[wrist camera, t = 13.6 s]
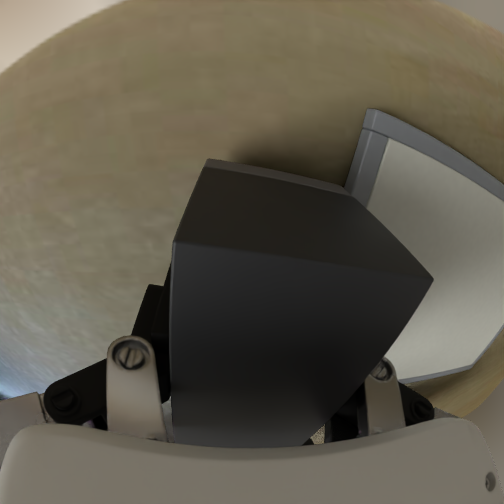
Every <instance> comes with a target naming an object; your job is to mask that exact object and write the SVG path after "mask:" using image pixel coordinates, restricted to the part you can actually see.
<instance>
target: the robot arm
mask: <svg viewBox="0 0 504 504" xmlns="http://www.w3.org/2000/svg"><path fill="white" fill-rule="evenodd" d="M170 280H171V264H170V267H169V270H168V273H167V276H166V280H165V283H164V286H159V285H152V284H149V285H148V287H147V290H146V293H145V295H144V298H143V301H142V304H141V307H140V310H139V313H138V315H137V318H136V321H135V324H134V328H133V331H132V334H131V335H130V336H123V337H120V338H118V339H116V340H115V341H113V342H112V343H111V345H110V346H109V348H108V352H107V358H106V359H104V360H102V361H100V362H97V363H95V364H93V365H91V366H89V367H87V368H84V369H82V370H80V371H78V372H76V373H74V374H71V375H69V376H67V377H65V378H62V379H60V380H58V381H56V382H54V383H52V384H51V385H50V386H49V387H48V388H47V389H46V391H45V393H42V394H38V393H37V392H34V393H30V394H26V395H22V396H18V397H14V398H10V399H5V400H1V401H0V504H504V496H503V491H502V487H501V484H500V480H499V476H498V473H497V470H496V467H495V464H494V461H493V458H492V455H491V453H490V450H489V448H488V445H487V443H486V441H485V439H484V437H483V435H482V433H481V432H480V430H479V429H478V427H477V426H476V425H475V424H474V423H472V422H470V421H468V420H465V419H462V418H459V417H457V416H455V415H452V414H450V413H447V412H445V411H443V410H440V409H438V408H436V407H435V408H433V406H432V404H431V403H430V402H429V401H428V400H427V399H426V398H425V397H423V396H421V395H420V394H418V393H416V392H415V391H413V390H412V389H410V388H408V387H407V386H405V385H403V384H402V383H400V382H399V381H398V380H397V375H396V370H395V368H394V366H393V364H392V363H391V361H389V360H388V359H387V358H386V357H383V358H382V360H381V361H380V362H379V363H378V365H377V366H376V367H375V368H374V370H373V371H372V372H371V373H370V375H369V376H368V377H367V378H366V379H365V381H364V382H363V383H362V384H361V385H360V387H359V388H358V389H357V390H356V391H355V392H354V393H353V394H352V396H351V397H350V398H349V399H348V400H347V401H346V402H345V403H344V404H343V405H342V406H341V408H340V409H339V410H338V411H337V412H336V413H335V414H334V415H333V416H332V417H331V418H330V419H329V420H328V421H327V422H326V423H325V437H324V444H316V445H306V446H294V447H278V448H222V447H206V446H195V445H185V444H177V443H169V442H168V437H167V432H166V427H165V421H164V416H163V410H162V404H163V403H164V402H166V401H168V400H169V398H170V396H171V389H170V358H169V312H170Z"/></svg>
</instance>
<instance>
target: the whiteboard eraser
mask: <svg viewBox="0 0 504 504" xmlns="http://www.w3.org/2000/svg"><path fill="white" fill-rule="evenodd" d="M433 281H434V278H433V277H432V276H431V275H430V273H429V272H428V271H427V270H426V269H425V268H424V267H423V266H422V264H421V263H420V262H419V261H418V260H417V259H416V258H415V257H414V256H413V255H412V254H411V252H410V251H409V250H408V249H407V248H406V247H405V246H404V245H403V244H402V243H401V242H400V241H399V240H398V239H397V238H396V237H395V236H394V235H393V234H392V233H391V232H390V231H389V230H388V229H387V228H386V227H385V226H384V225H383V224H382V223H381V222H380V221H379V220H378V219H377V218H376V217H375V216H374V215H373V214H372V213H371V212H370V211H368V210H367V209H366V208H365V207H364V206H363V205H362V204H361V203H360V202H359V201H358V200H357V199H355V198H354V197H353V196H352V195H351V194H349V193H348V192H347V191H346V190H345V189H344V188H343V187H342V186H340V185H337V184H333V183H329V182H325V181H321V180H317V179H313V178H308V177H304V176H300V175H295V174H291V173H286V172H282V171H277V170H272V169H267V168H262V167H257V166H251V165H246V164H240V163H234V162H228V161H222V160H216V159H207V161H206V163H205V165H204V167H203V169H202V171H201V174H200V176H199V178H198V181H197V183H196V185H195V188H194V190H193V192H192V195H191V197H190V199H189V202H188V204H187V207H186V209H185V212H184V214H183V217H182V219H181V222H180V224H179V227H178V229H177V232H176V235H175V237H174V240H173V245H172V261H171V280H170V312H169V358H170V389H171V408H172V422H173V434H174V443H177V444H185V445H195V446H206V447H222V448H278V447H294V446H301V445H302V444H304V443H305V442H306V441H307V440H308V439H309V438H310V437H311V436H312V435H313V434H314V433H316V432H317V431H318V430H319V429H320V428H321V427H322V426H323V425H324V424H325V423H326V422H327V421H328V420H329V419H330V418H331V417H332V416H333V415H334V414H335V413H336V412H337V411H338V410H339V409H340V408H341V406H342V405H343V404H344V403H345V402H346V401H347V400H348V399H349V398H350V397H351V396H352V394H353V393H354V392H355V391H356V390H357V389H358V388H359V387H360V385H361V384H362V383H363V382H364V381H365V379H366V378H367V377H368V376H369V375H370V373H371V372H372V371H373V370H374V368H375V367H376V366H377V365H378V363H379V362H380V361H381V360H382V358H383V357H384V356H385V354H386V353H387V352H388V350H389V349H390V348H391V346H392V345H393V344H394V342H395V341H396V339H397V338H398V337H399V335H400V334H401V332H402V331H403V329H404V328H405V327H406V325H407V324H408V322H409V321H410V319H411V318H412V316H413V314H414V313H415V311H416V310H417V308H418V307H419V305H420V303H421V302H422V300H423V298H424V297H425V295H426V293H427V292H428V290H429V288H430V287H431V285H432V283H433Z"/></svg>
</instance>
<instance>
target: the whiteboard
mask: <svg viewBox="0 0 504 504" xmlns="http://www.w3.org/2000/svg"><path fill="white" fill-rule="evenodd" d="M344 189H345V190H346V191H347V192H348V193H349V194H351V195H352V196H353V197H354V198H355V199H357V200H358V201H359V202H360V203H361V204H362V205H363V206H364V207H365V208H366V209H367V210H368V211H370V212H371V213H372V214H373V215H374V216H375V217H376V218H377V219H378V220H379V221H380V222H381V223H382V224H383V225H384V226H385V227H386V228H387V229H388V230H389V231H390V232H391V233H392V234H393V235H394V236H395V237H396V238H397V239H398V240H399V241H400V242H401V243H402V244H403V245H404V246H405V247H406V248H407V249H408V250H409V251H410V252H411V254H412V255H413V256H414V257H415V258H416V259H417V260H418V261H419V262H420V263H421V264H422V266H423V267H424V268H425V269H426V270H427V271H428V272H429V273H430V275H431V276H432V277H433V278H434V281H433V283H432V285H431V287H430V288H429V290H428V292H427V293H426V295H425V297H424V298H423V300H422V302H421V303H420V305H419V307H418V308H417V310H416V311H415V313H414V314H413V316H412V318H411V319H410V321H409V322H408V324H407V325H406V327H405V328H404V329H403V331H402V332H401V334H400V335H399V337H398V338H397V339H396V341H395V342H394V344H393V345H392V346H391V348H390V349H389V350H388V352H387V353H386V354H385V356H384V357H386V358H387V359H388V360H389V361H391V363H392V364H393V366H394V368H395V370H396V375H397V380H398V381H399V382H400V383H402V384H406V383H412V382H417V381H422V380H427V379H432V378H436V377H441V376H445V375H449V374H453V373H457V372H461V371H464V370H468V369H471V368H472V366H473V365H474V364H475V363H476V362H477V361H478V360H479V358H480V357H481V356H482V355H483V354H484V352H485V351H486V350H487V349H488V348H489V346H490V345H491V344H492V343H493V341H494V340H495V339H496V337H497V336H498V335H499V333H500V332H501V331H502V329H503V328H504V185H503V184H502V183H501V182H500V181H498V180H497V179H496V178H494V177H493V176H492V175H490V174H489V173H488V172H486V171H485V170H484V169H482V168H481V167H479V166H478V165H477V164H475V163H474V162H472V161H471V160H469V159H468V158H466V157H465V156H463V155H462V154H460V153H459V152H457V151H456V150H454V149H452V148H451V147H449V146H447V145H446V144H444V143H442V142H441V141H439V140H437V139H436V138H434V137H432V136H430V135H428V134H427V133H425V132H423V131H421V130H419V129H417V128H415V127H413V126H411V125H410V124H408V123H406V122H403V121H401V120H399V119H397V118H395V117H393V116H391V115H389V114H387V113H384V112H382V111H380V110H377V109H370V108H368V109H367V111H366V115H365V118H364V122H363V129H362V131H361V134H360V138H359V141H358V144H357V148H356V151H355V155H354V158H353V161H352V164H351V168H350V171H349V174H348V177H347V180H346V183H345V186H344Z"/></svg>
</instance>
